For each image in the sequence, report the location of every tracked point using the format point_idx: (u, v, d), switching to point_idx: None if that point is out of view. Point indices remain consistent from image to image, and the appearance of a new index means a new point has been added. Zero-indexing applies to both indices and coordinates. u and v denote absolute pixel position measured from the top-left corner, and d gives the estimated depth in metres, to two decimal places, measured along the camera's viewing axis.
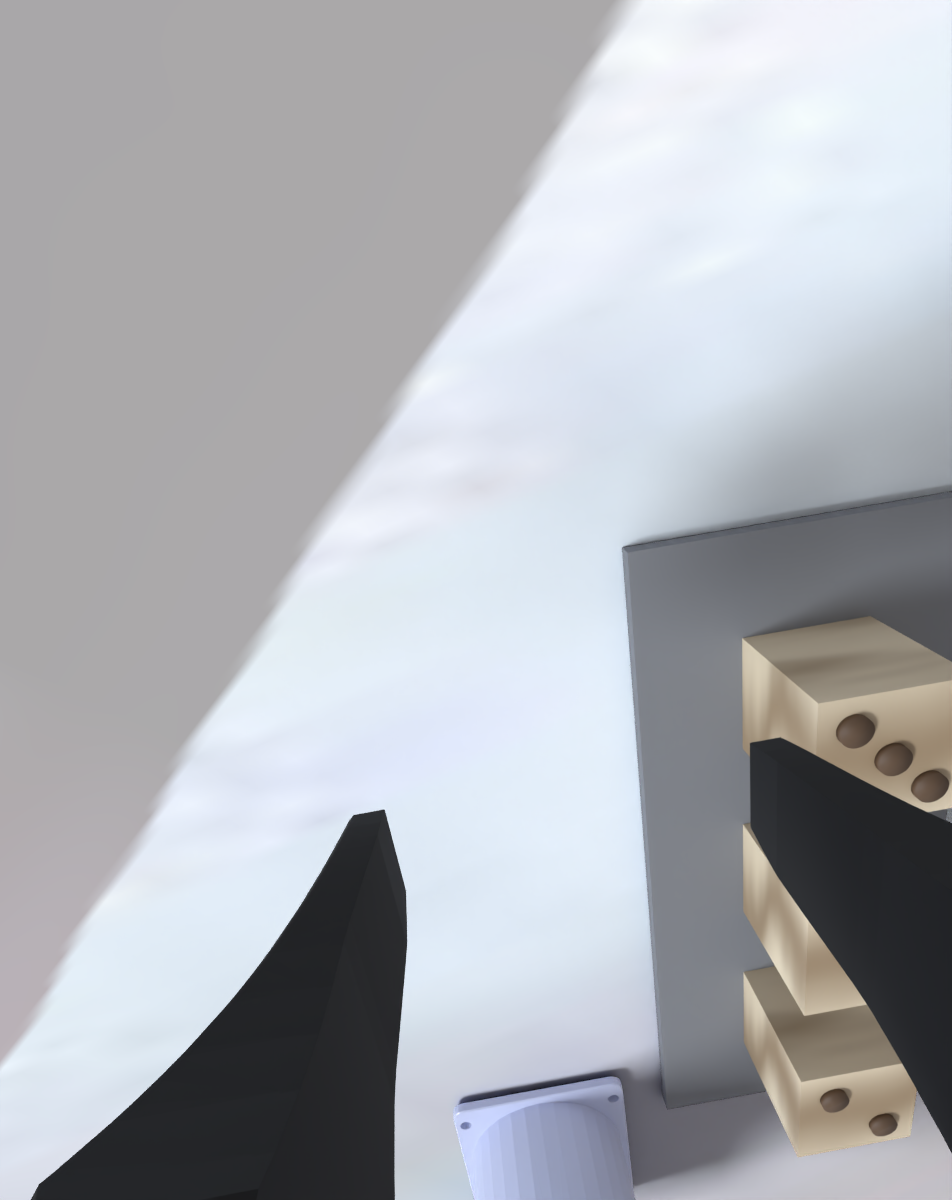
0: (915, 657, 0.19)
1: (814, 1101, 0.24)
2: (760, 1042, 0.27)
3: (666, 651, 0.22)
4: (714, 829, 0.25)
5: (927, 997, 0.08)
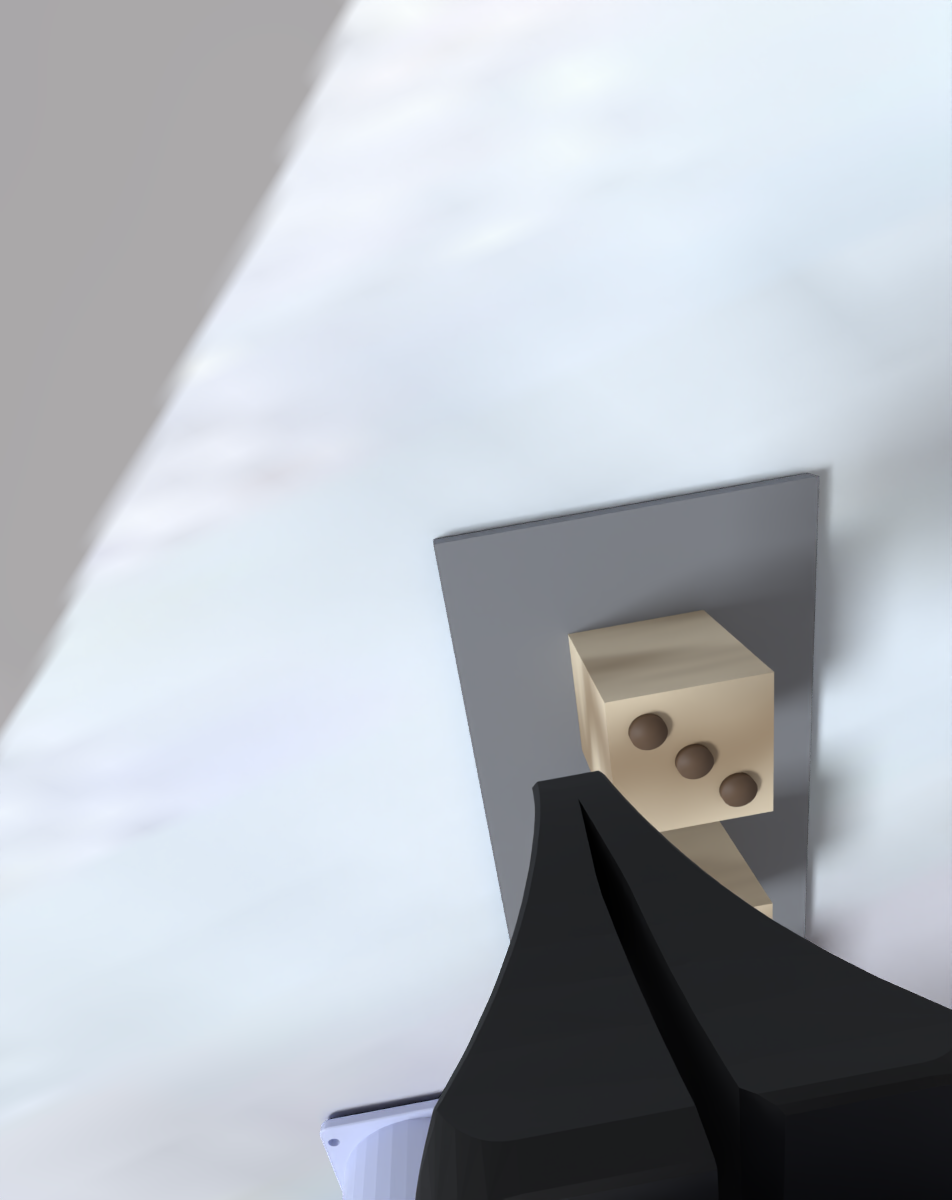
0: (724, 652, 0.18)
1: None
2: None
3: (487, 648, 0.21)
4: None
5: None
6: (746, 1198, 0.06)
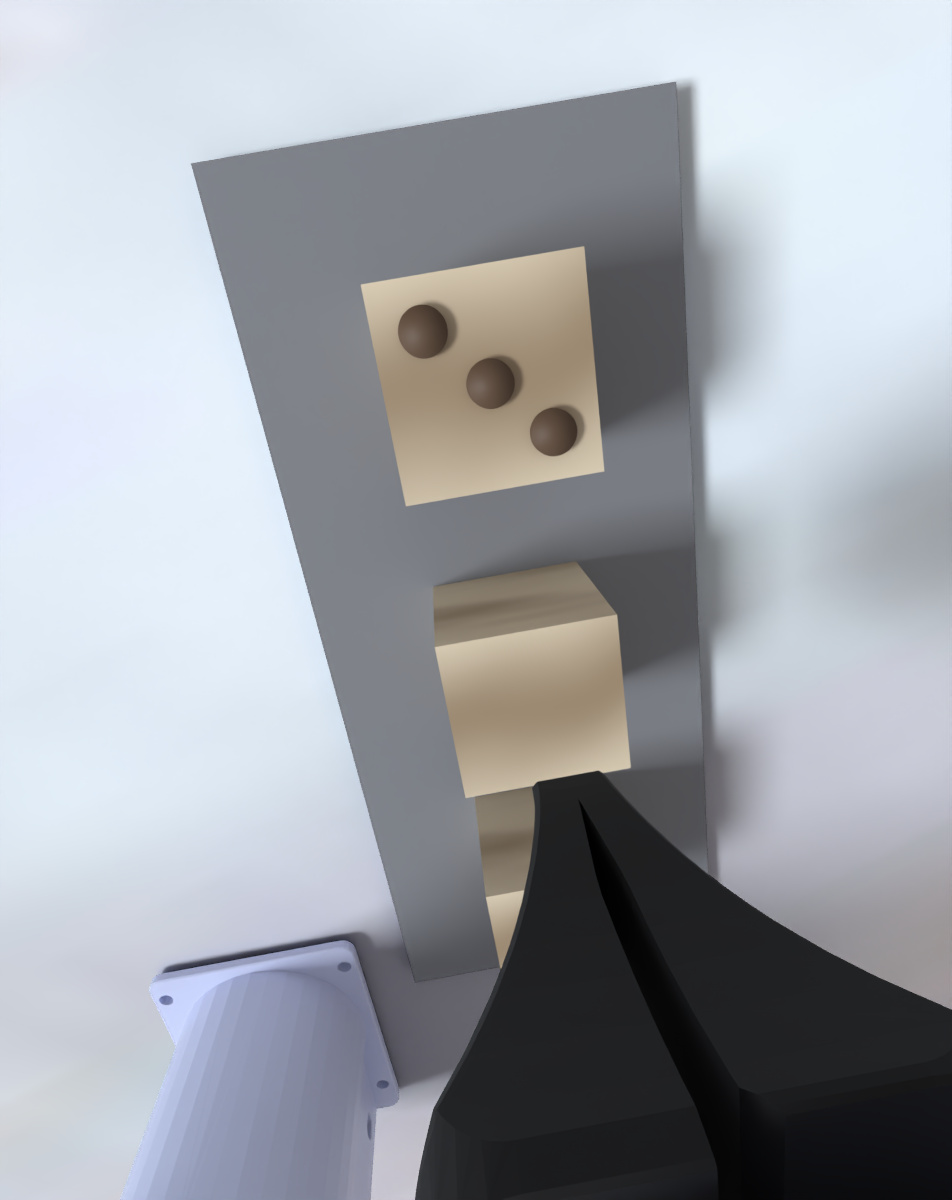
0: None
1: (511, 926, 0.19)
2: None
3: (277, 322, 0.17)
4: (396, 593, 0.20)
5: None
6: (746, 1198, 0.06)
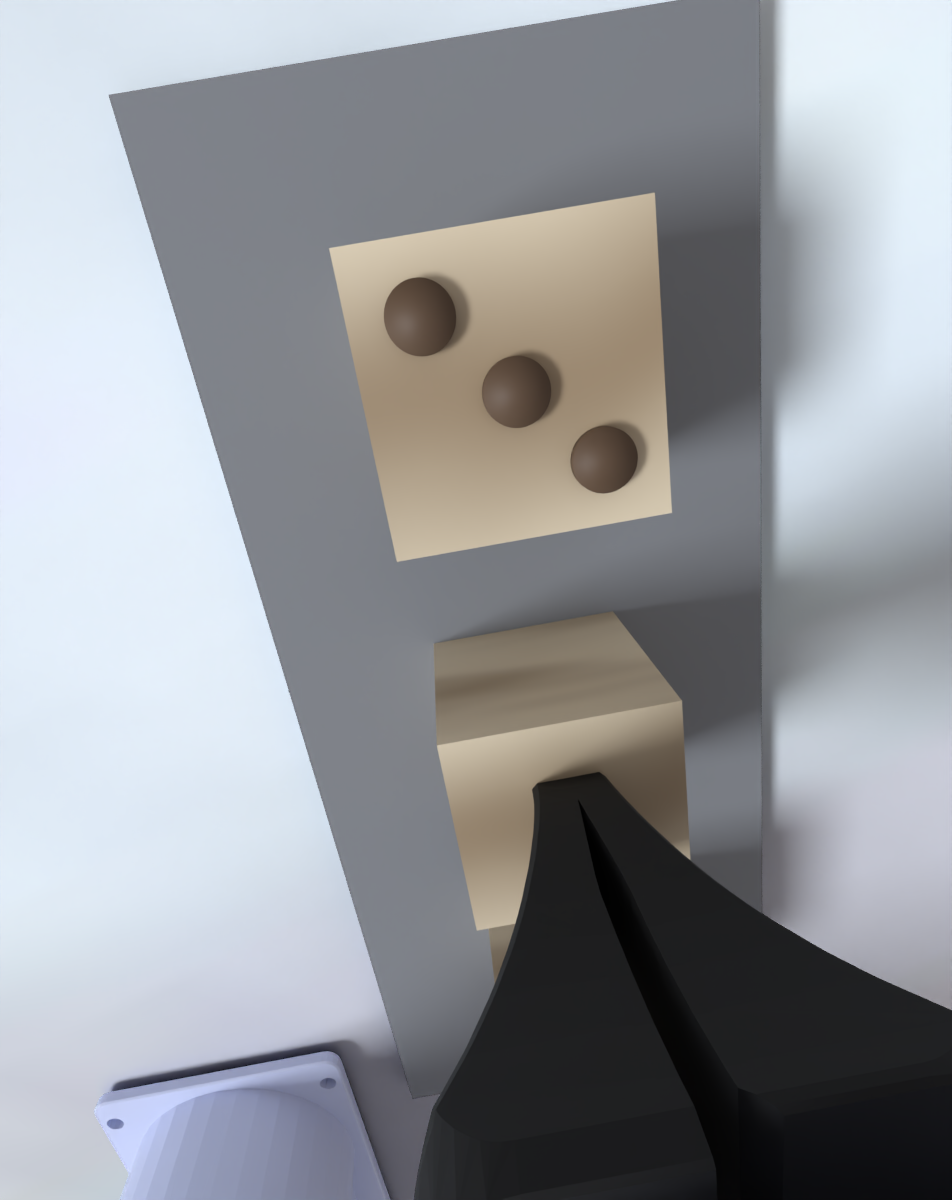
0: None
1: None
2: None
3: (230, 309, 0.13)
4: (388, 652, 0.16)
5: None
6: (745, 1198, 0.06)
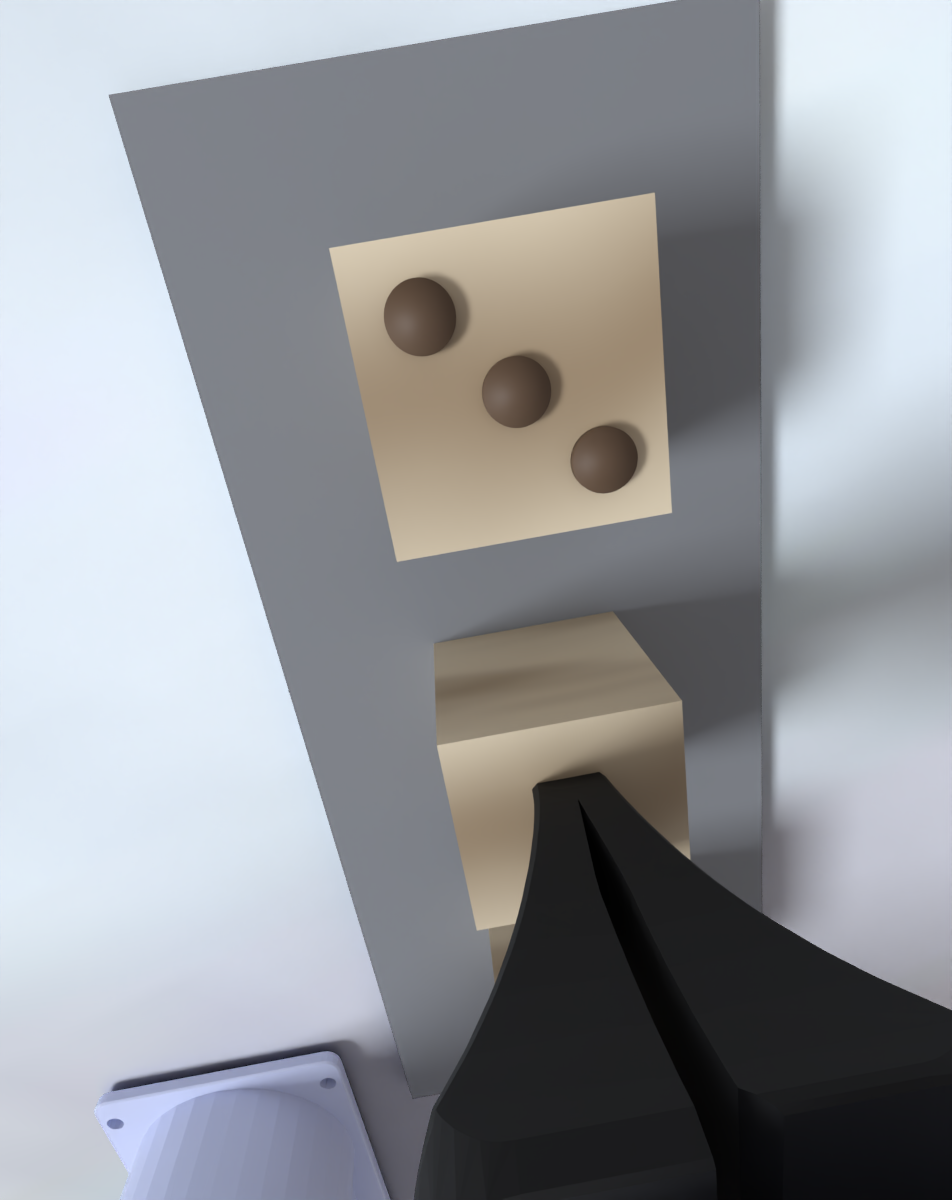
0: None
1: None
2: None
3: (230, 309, 0.13)
4: (388, 652, 0.16)
5: None
6: (745, 1198, 0.06)
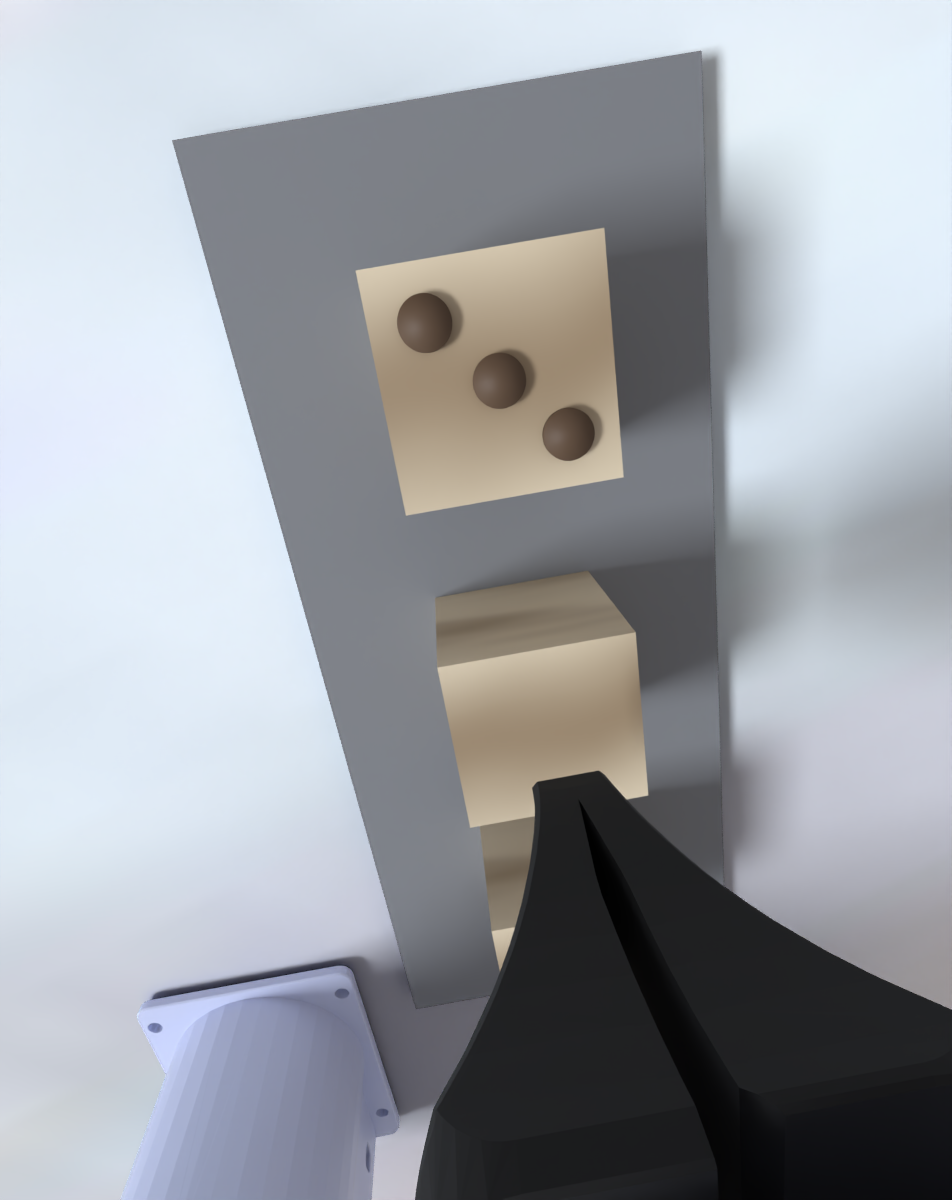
0: None
1: None
2: None
3: (267, 313, 0.15)
4: (396, 604, 0.18)
5: None
6: (746, 1198, 0.06)
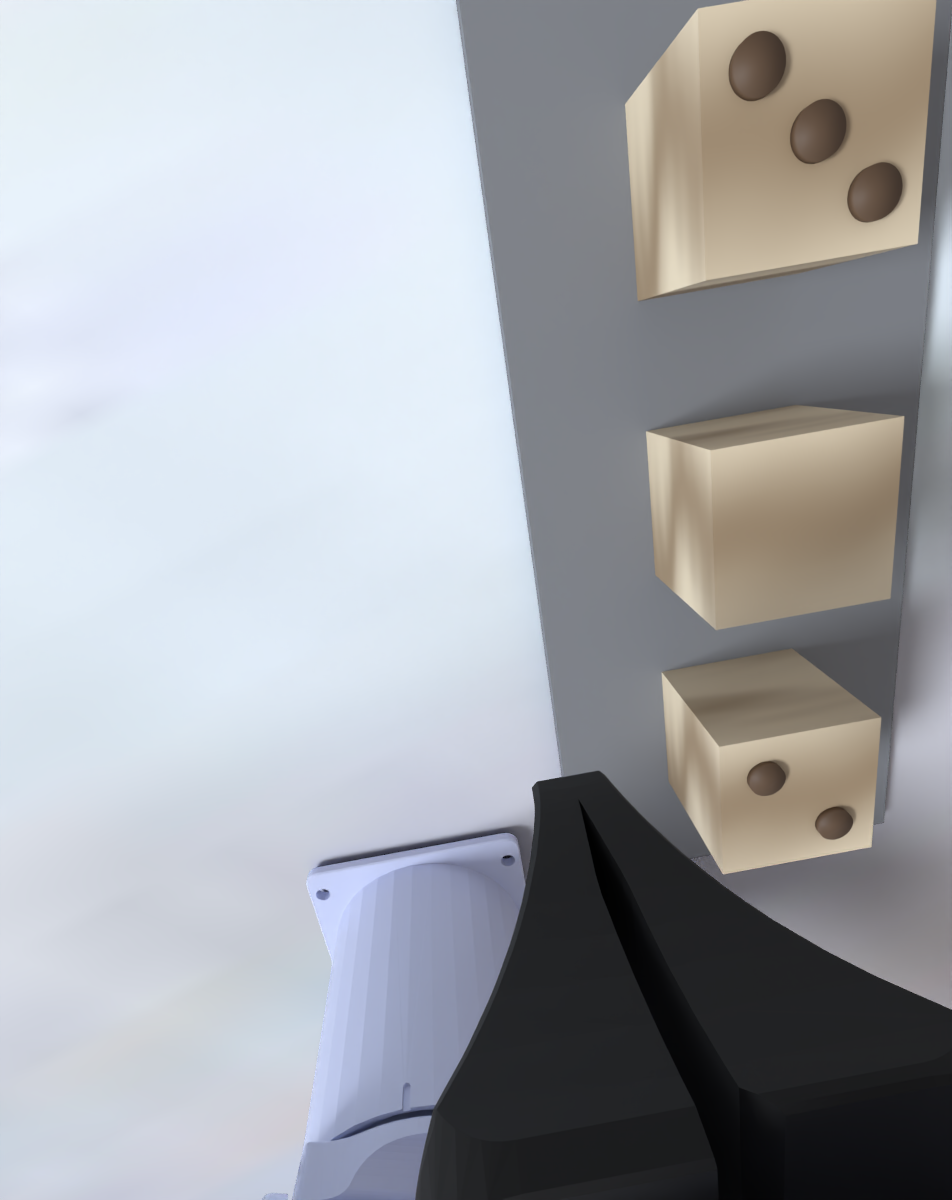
0: None
1: (740, 782, 0.18)
2: (681, 752, 0.21)
3: (519, 122, 0.16)
4: (608, 438, 0.19)
5: None
6: (746, 1198, 0.06)
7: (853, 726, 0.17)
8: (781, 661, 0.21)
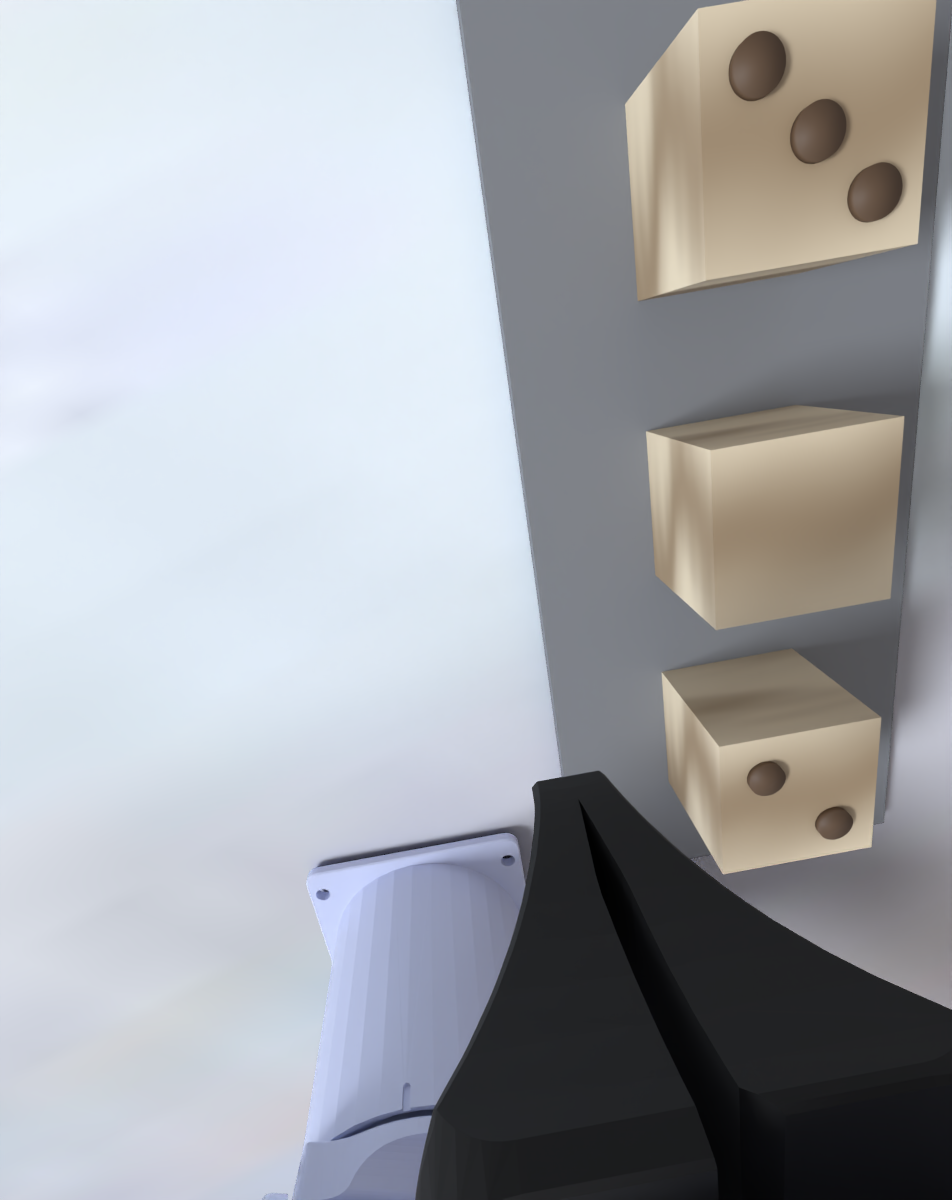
0: None
1: (740, 782, 0.18)
2: (681, 752, 0.21)
3: (519, 122, 0.16)
4: (608, 438, 0.19)
5: None
6: (746, 1198, 0.06)
7: (853, 726, 0.17)
8: (781, 661, 0.21)
